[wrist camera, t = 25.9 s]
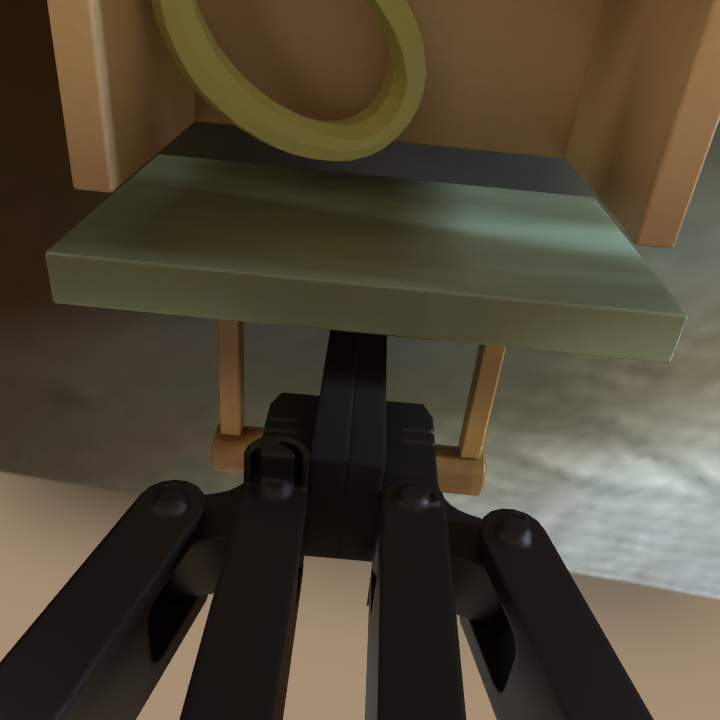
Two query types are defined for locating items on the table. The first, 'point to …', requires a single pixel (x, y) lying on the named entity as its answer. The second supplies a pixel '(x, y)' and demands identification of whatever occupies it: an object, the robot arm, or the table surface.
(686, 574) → the table surface
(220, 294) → the drawer
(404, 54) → the key
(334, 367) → the robot arm
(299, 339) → the table surface
